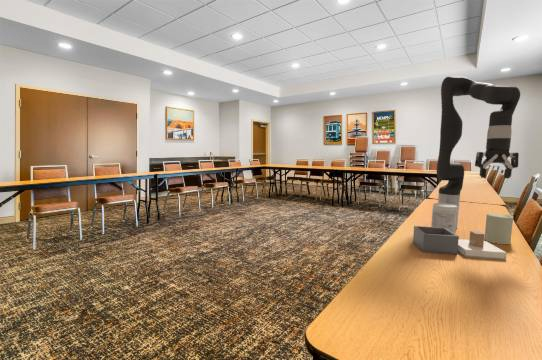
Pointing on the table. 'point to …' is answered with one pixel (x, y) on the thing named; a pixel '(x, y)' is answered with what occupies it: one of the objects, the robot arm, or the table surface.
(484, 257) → the mat
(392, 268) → the table surface
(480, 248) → the lid
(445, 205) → the supplement tub
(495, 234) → the can
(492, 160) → the robot arm
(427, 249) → the box
